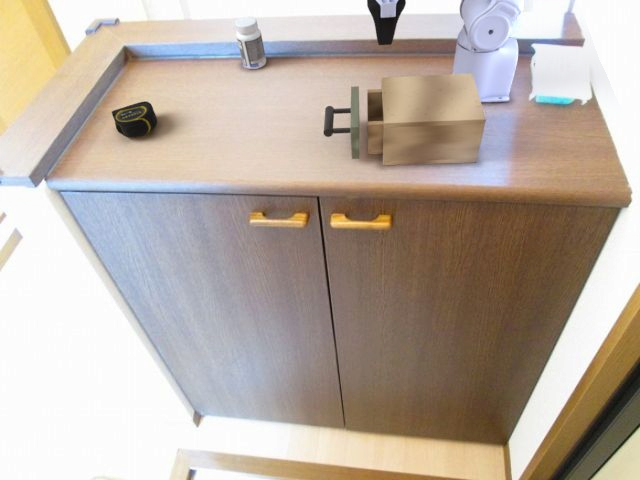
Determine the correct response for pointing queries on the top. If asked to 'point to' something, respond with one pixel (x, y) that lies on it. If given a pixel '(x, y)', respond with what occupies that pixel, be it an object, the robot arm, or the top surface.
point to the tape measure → (135, 119)
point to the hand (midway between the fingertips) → (384, 42)
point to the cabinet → (431, 119)
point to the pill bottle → (250, 43)
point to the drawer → (373, 122)
